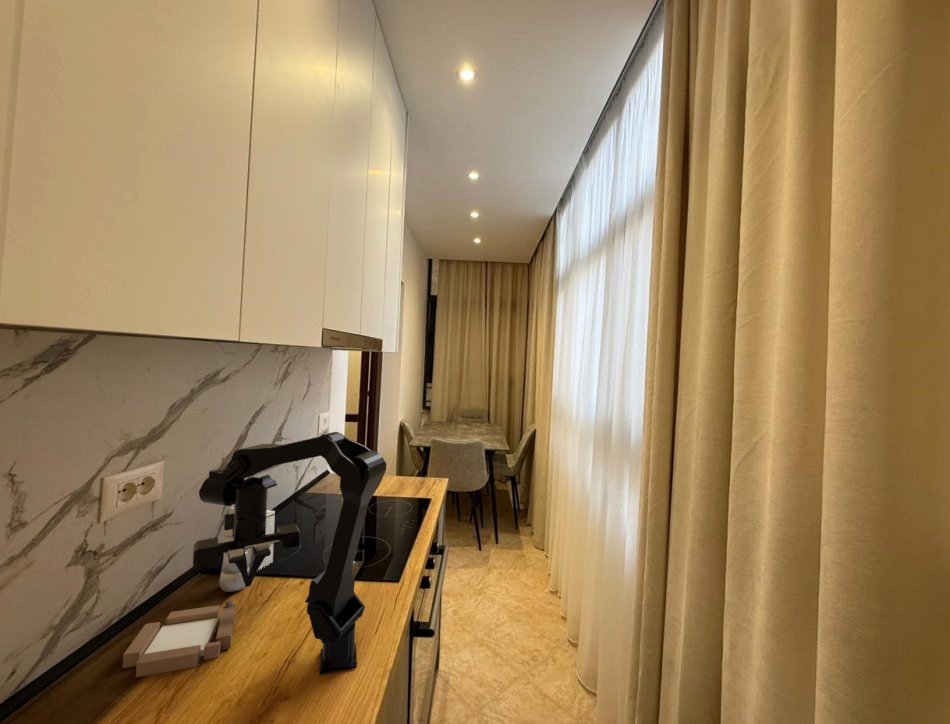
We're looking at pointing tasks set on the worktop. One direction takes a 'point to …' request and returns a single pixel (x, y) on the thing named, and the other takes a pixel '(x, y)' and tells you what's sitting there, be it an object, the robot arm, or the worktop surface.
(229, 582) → the silver metal bottle
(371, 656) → the worktop surface
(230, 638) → the leg
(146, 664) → the seat
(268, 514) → the syrup box
